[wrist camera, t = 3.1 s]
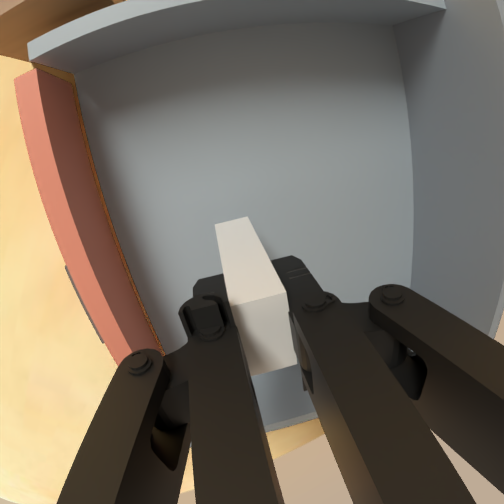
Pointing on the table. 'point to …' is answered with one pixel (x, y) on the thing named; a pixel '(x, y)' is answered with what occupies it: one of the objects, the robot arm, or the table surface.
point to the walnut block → (39, 20)
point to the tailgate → (79, 213)
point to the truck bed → (298, 148)
